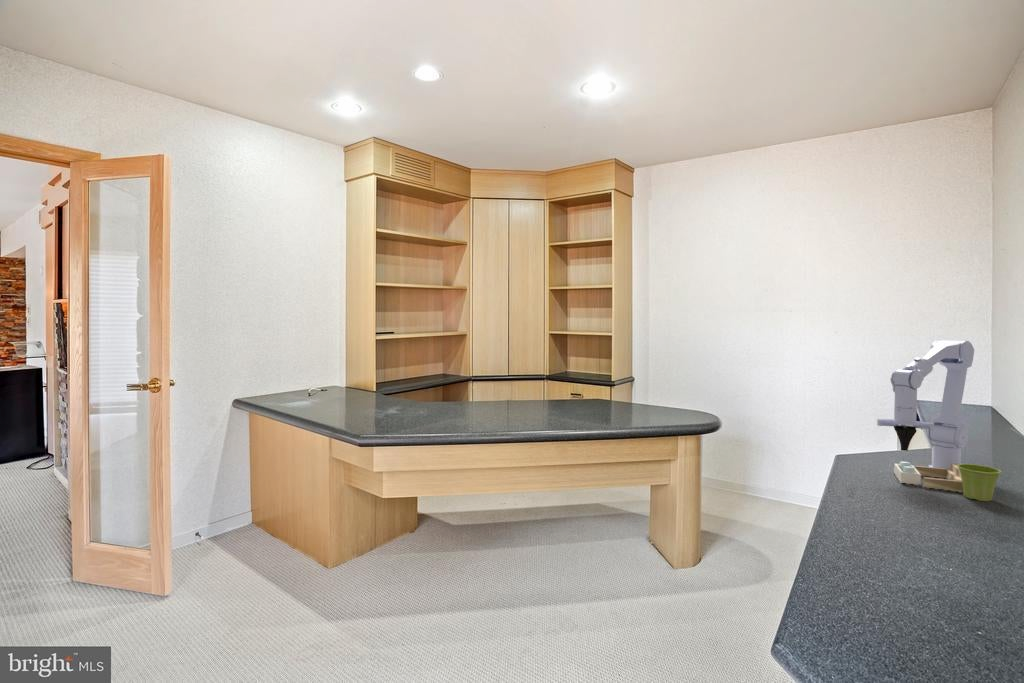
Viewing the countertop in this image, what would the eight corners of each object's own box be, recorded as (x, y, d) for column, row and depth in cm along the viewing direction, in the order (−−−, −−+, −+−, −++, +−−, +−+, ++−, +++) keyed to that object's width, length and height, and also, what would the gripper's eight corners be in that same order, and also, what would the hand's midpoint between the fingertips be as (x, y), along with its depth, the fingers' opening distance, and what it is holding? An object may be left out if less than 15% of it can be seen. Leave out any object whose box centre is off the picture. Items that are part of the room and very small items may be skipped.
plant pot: (983, 493, 158) (983, 464, 158) (1009, 504, 149) (1010, 473, 148) (948, 492, 159) (949, 463, 159) (972, 503, 149) (973, 472, 149)
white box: (893, 473, 178) (894, 459, 178) (912, 475, 176) (912, 461, 176) (900, 483, 168) (901, 468, 168) (920, 485, 166) (920, 470, 165)
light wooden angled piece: (913, 474, 178) (913, 459, 178) (961, 479, 172) (962, 463, 172) (924, 487, 163) (924, 471, 163) (977, 493, 157) (978, 476, 157)
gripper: (880, 407, 171) (879, 450, 172) (937, 411, 165) (935, 455, 165) (876, 404, 177) (875, 445, 178) (931, 407, 171) (930, 450, 171)
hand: (904, 449), depth 172 cm, fingers closed
